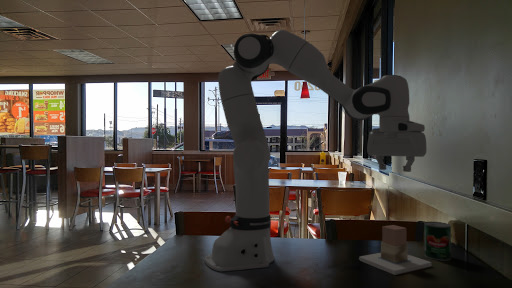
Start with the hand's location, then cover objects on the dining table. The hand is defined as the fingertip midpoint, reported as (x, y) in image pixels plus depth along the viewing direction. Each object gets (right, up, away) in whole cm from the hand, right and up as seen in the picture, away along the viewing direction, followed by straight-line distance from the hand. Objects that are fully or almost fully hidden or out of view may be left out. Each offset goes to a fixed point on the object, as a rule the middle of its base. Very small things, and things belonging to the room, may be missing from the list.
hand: (394, 170), depth 107 cm
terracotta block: (0, -23, 0) cm, 23 cm away
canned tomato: (+17, -30, +6) cm, 35 cm away
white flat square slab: (0, -29, 0) cm, 29 cm away
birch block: (0, -28, 0) cm, 28 cm away
